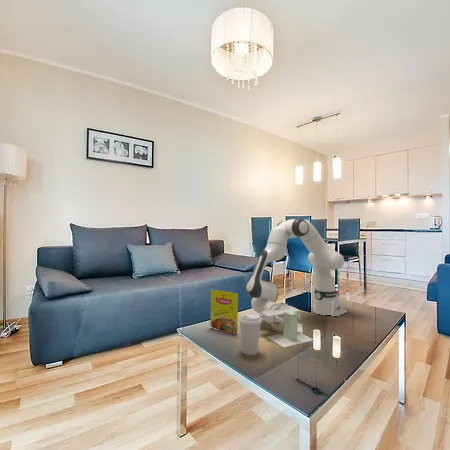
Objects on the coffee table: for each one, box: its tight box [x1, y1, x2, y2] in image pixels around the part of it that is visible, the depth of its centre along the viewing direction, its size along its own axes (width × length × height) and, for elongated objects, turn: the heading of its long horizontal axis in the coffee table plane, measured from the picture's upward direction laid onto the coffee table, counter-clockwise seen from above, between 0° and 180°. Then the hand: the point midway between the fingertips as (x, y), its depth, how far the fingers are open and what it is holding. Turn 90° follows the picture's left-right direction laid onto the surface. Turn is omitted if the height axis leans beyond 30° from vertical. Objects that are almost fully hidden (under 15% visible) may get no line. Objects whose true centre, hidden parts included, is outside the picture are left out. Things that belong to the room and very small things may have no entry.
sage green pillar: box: [282, 311, 298, 341], centre depth 123 cm, size 4×5×12 cm
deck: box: [263, 320, 284, 333], centre depth 139 cm, size 12×12×4 cm
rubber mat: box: [266, 331, 315, 349], centre depth 123 cm, size 18×12×1 cm, turn 118°
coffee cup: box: [238, 312, 263, 356], centre depth 110 cm, size 10×10×15 cm
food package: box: [209, 289, 239, 335], centre depth 131 cm, size 15×1×20 cm, turn 62°
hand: (291, 319), depth 122 cm, fingers open, 8 cm apart
